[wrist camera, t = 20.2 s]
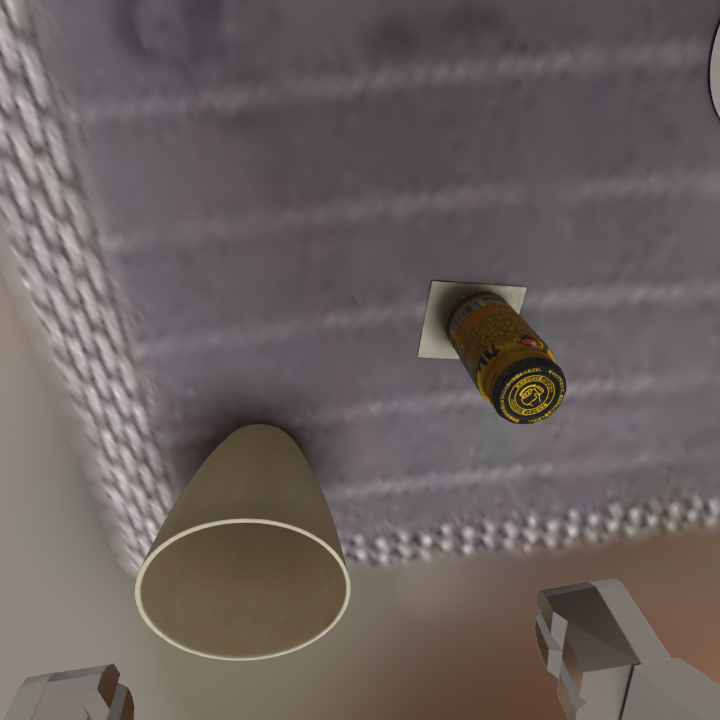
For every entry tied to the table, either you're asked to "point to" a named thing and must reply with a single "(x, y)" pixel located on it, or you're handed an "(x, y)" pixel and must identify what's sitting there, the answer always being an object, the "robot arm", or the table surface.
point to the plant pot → (246, 555)
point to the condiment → (494, 348)
